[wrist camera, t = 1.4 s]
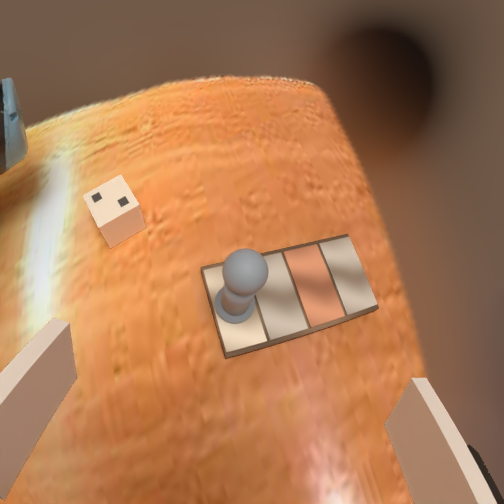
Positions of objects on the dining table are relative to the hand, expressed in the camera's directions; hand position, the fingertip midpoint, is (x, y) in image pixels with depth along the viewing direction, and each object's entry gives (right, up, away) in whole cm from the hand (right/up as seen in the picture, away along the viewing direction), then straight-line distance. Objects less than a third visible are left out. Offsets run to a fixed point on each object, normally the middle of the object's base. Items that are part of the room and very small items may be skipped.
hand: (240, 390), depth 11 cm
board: (+6, -1, +32) cm, 33 cm away
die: (-19, +9, +33) cm, 39 cm away
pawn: (-2, -2, +29) cm, 29 cm away
